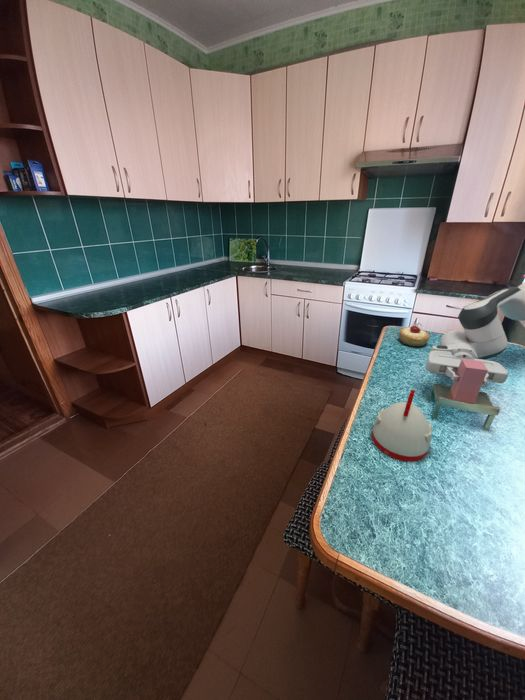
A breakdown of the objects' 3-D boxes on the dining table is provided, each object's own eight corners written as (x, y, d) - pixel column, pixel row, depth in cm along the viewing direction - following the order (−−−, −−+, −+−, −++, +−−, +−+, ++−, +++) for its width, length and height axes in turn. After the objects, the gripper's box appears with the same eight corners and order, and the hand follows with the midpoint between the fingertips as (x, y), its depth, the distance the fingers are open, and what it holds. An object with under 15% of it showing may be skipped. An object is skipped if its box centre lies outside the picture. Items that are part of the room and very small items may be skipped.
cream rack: (480, 408, 88) (489, 387, 85) (489, 432, 79) (500, 409, 76) (428, 398, 93) (435, 377, 89) (432, 420, 84) (439, 398, 80)
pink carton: (469, 393, 85) (482, 361, 80) (474, 403, 81) (488, 370, 76) (450, 390, 87) (461, 358, 82) (454, 400, 83) (466, 367, 78)
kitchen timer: (431, 434, 79) (446, 389, 72) (424, 470, 69) (441, 421, 62) (378, 416, 86) (387, 374, 79) (365, 446, 76) (374, 400, 69)
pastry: (392, 341, 131) (395, 322, 127) (407, 334, 137) (411, 317, 133) (417, 351, 122) (422, 331, 118) (432, 343, 128) (437, 325, 124)
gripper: (496, 373, 90) (510, 398, 78) (422, 361, 97) (426, 383, 85) (503, 355, 87) (519, 378, 75) (427, 344, 94) (431, 365, 83)
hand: (469, 381), depth 80 cm, fingers closed on pink carton, 5 cm apart
